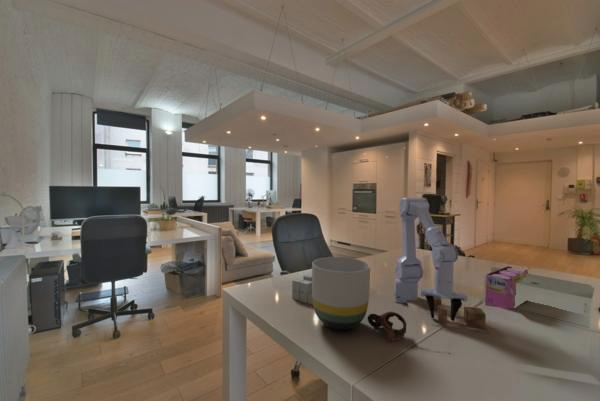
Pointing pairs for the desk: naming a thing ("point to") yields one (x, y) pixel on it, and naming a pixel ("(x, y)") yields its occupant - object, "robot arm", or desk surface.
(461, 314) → the back strip
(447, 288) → the robot arm
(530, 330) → the desk surface
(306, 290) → the puzzle cube
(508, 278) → the gum box
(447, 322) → the brown angular piece
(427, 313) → the tray board
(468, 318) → the walnut block
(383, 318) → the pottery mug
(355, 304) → the planter
